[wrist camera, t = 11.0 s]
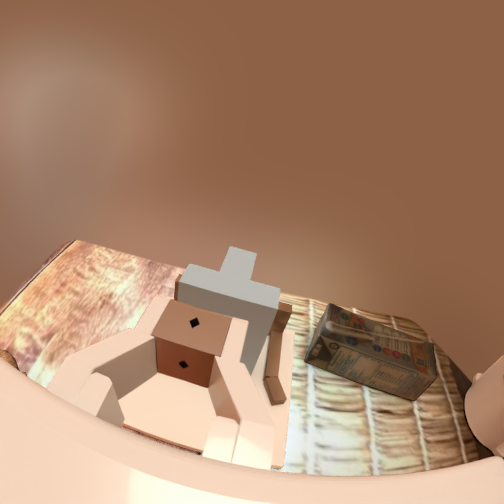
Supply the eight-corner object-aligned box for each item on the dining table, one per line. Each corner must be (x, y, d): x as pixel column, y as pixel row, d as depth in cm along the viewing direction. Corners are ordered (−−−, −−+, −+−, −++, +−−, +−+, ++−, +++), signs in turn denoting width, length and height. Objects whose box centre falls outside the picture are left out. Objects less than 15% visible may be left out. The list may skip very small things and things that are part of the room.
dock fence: (289, 332, 39) (301, 307, 37) (283, 408, 29) (298, 386, 26) (168, 299, 39) (170, 271, 37) (132, 364, 29) (128, 337, 26)
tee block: (257, 333, 38) (283, 260, 32) (248, 381, 31) (278, 309, 25) (193, 314, 38) (204, 239, 32) (173, 359, 31) (178, 281, 25)
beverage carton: (314, 327, 43) (330, 296, 40) (414, 367, 39) (437, 340, 36) (301, 362, 37) (319, 331, 33) (415, 404, 33) (442, 378, 29)
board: (292, 336, 40) (294, 331, 40) (280, 468, 23) (283, 466, 23) (165, 300, 40) (165, 295, 40) (102, 416, 23) (100, 412, 23)
